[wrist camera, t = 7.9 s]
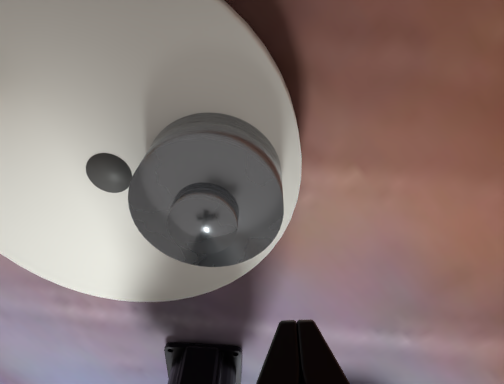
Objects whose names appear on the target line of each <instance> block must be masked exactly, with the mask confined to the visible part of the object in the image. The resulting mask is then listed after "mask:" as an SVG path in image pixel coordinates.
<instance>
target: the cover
mask: <svg viewBox="0 0 504 384" xmlns="http://www.w3.org/2000/svg"><path fill="white" fill-rule="evenodd" d="M128 205H129V210H130V213H131V217H132V219H133V221H134V223H135V225H136V227H137V228H138V230H139V232H140V233H141V234H142V235H143V237H144V238H145V239H146V240H147V241H148V242H149V243H150V244H151V245H153V246H154V247H155V248H156V249H158V250H159V251H161V252H162V253H164V254H165V255H167V256H169V257H171V258H173V259H176V260H178V261H181V262H184V263H187V264H191V265H196V266H203V267H223V266H230V265H235V264H238V263H242V262H245V261H247V260H249V259H251V258H253V257H255V256H257V255H258V254H260V253H261V252H262V251H264V250H265V249H266V248H267V247H268V246H269V245H270V244H271V243H272V241H273V240H274V239H275V237H276V236H277V234H278V232H279V230H280V227H281V224H282V221H283V215H284V202H283V186H282V171H281V164H280V161H279V158H278V155H277V153H276V151H275V149H274V147H273V146H272V144H271V143H270V141H269V140H268V139H267V138H266V137H265V136H264V134H262V133H261V132H260V131H259V130H258V129H257V128H255V127H254V126H252V125H251V124H249V123H247V122H245V121H243V120H241V119H239V118H236V117H234V116H231V115H226V114H222V113H212V112H210V113H197V114H191V115H188V116H185V117H182V118H180V119H178V120H176V121H174V122H172V123H171V124H169V125H168V126H166V127H165V128H164V129H163V130H162V131H161V132H160V133H159V134H158V136H157V137H156V138H155V140H154V141H153V143H152V145H151V146H150V148H149V150H148V151H147V153H146V154H145V156H144V158H143V159H142V161H141V163H140V164H139V166H138V168H137V169H136V171H135V173H134V174H133V176H132V179H131V181H130V185H129V190H128Z"/></svg>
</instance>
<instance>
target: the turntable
mask: <svg viewBox="0 0 504 384" xmlns="http://www.w3.org/2000/svg"><path fill="white" fill-rule="evenodd" d="M210 112H212V113H222V114H226V115H231V116H234V117H236V118H239V119H241V120H243V121H245V122H247V123H249V124H251V125H252V126H254V127H255V128H257V129H258V130H259V131H260V132H261V133H262V134H264V136H265V137H266V138H267V139H268V140H269V141H270V143H271V144H272V146H273V147H274V149H275V151H276V153H277V155H278V158H279V161H280V164H281V171H282V186H283V202H284V215H283V221H282V224H281V227H280V230H279V232H278V234H277V236H276V237H275V239H274V240H273V241H272V243H271V244H270V245H269V246H268V247H267V248H266V249H265V250H264V251H262V252H261V253H260V254H258V255H257V256H255V257H253V258H251V259H249V260H247V261H245V262H242V263H238V264H235V265H230V266H223V267H203V266H196V265H191V264H187V263H184V262H181V261H178V260H176V259H173V258H171V257H169V256H167V255H165V254H164V253H162V252H161V251H159V250H158V249H156V248H155V247H154V246H153V245H151V244H150V243H149V242H148V241H147V240H146V239H145V238H144V237H143V235H142V234H141V233H140V232H139V230H138V228H137V227H136V225H135V223H134V221H133V219H132V217H131V213H130V210H129V205H128V190H129V185H130V181H131V179H132V176H133V174H134V173H135V171H136V169H137V168H138V166H139V164H140V163H141V161H142V159H143V158H144V156H145V154H146V153H147V151H148V150H149V148H150V146H151V145H152V143H153V141H154V140H155V138H156V137H157V136H158V134H159V133H160V132H161V131H162V130H163V129H164V128H165V127H166V126H168V125H169V124H171V123H172V122H174V121H176V120H178V119H180V118H182V117H185V116H188V115H191V114H197V113H210ZM301 162H302V156H301V148H300V140H299V132H298V126H297V120H296V116H295V112H294V108H293V104H292V101H291V97H290V94H289V91H288V89H287V86H286V84H285V82H284V79H283V77H282V75H281V72H280V70H279V68H278V67H277V65H276V63H275V61H274V60H273V58H272V56H271V55H270V53H269V51H268V50H267V48H266V46H265V45H264V44H263V42H262V41H261V40H260V38H259V37H258V36H257V35H256V33H255V32H254V31H253V30H252V28H251V27H250V26H249V24H248V23H247V22H246V21H245V20H244V19H243V18H242V17H241V16H240V15H239V14H238V13H237V12H236V11H235V10H234V9H233V8H232V7H231V6H230V5H229V4H228V3H227V2H226V1H224V0H0V253H1V254H2V255H4V256H5V257H7V258H8V259H10V260H11V261H13V262H15V263H16V264H18V265H19V266H21V267H23V268H25V269H27V270H28V271H30V272H32V273H34V274H36V275H38V276H40V277H42V278H44V279H47V280H49V281H51V282H54V283H56V284H58V285H61V286H64V287H67V288H69V289H72V290H75V291H78V292H82V293H86V294H89V295H93V296H97V297H102V298H108V299H114V300H120V301H132V302H163V301H173V300H180V299H185V298H190V297H195V296H198V295H202V294H205V293H208V292H211V291H214V290H216V289H218V288H221V287H223V286H225V285H228V284H230V283H231V282H233V281H235V280H236V279H238V278H240V277H242V276H243V275H245V274H246V273H247V272H249V271H250V270H251V269H252V268H254V267H255V266H256V265H258V264H259V263H260V262H261V261H262V260H263V259H264V258H265V257H266V256H267V255H268V254H269V253H270V252H271V250H272V249H273V248H274V246H275V245H276V244H277V242H278V241H279V239H280V238H281V237H282V235H283V233H284V231H285V229H286V227H287V226H288V224H289V222H290V220H291V217H292V214H293V211H294V208H295V206H296V203H297V199H298V194H299V188H300V183H301Z"/></svg>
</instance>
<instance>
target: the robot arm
mask: <svg viewBox="0 0 504 384" xmlns="http://www.w3.org/2000/svg"><path fill="white" fill-rule="evenodd" d="M164 351H165V357H166V364H167V370H168V377H169V380H168V384H241V361H242V349H241V348H240V347H236V346H219V345H202V344H185V343H167V344H166V346H165V350H164ZM256 384H350V383H349V381H348V380H347V378H346V376H345V374H344V373H343V371H342V369H341V367H340V366H339V364H338V362H337V360H336V359H335V357H334V355H333V353H332V352H331V350H330V348H329V346H328V345H327V343H326V341H325V339H324V338H323V336H322V334H321V332H320V331H319V329H318V327H317V325H316V324H315V322H314V321H313V320H299V321H297V323H296V321H294V320H286V321H281V322H280V323H279V325H278V328H277V330H276V333H275V335H274V338H273V341H272V343H271V346H270V349H269V351H268V354H267V356H266V359H265V362H264V364H263V367H262V370H261V372H260V375H259V377H258V380H257V383H256Z"/></svg>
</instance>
